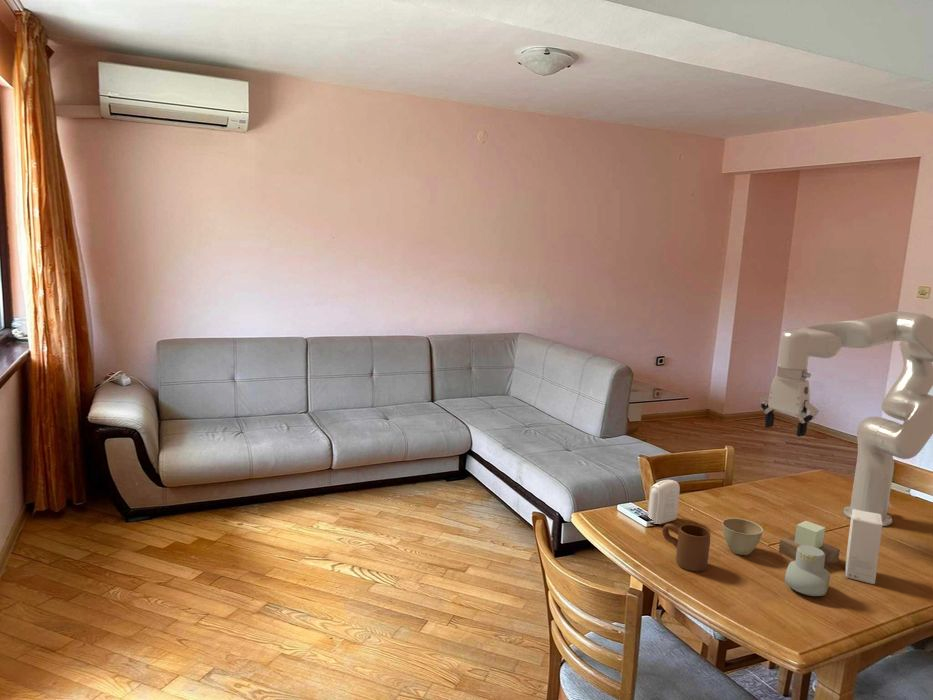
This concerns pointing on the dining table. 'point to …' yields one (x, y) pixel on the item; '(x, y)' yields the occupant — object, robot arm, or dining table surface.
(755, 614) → the dining table surface
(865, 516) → the skincare box
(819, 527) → the sage cube
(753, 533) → the flower pot
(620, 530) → the dining table surface
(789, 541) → the brown flat block
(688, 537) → the mug
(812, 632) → the dining table surface
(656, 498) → the photo printer
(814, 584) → the air freshener
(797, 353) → the robot arm
